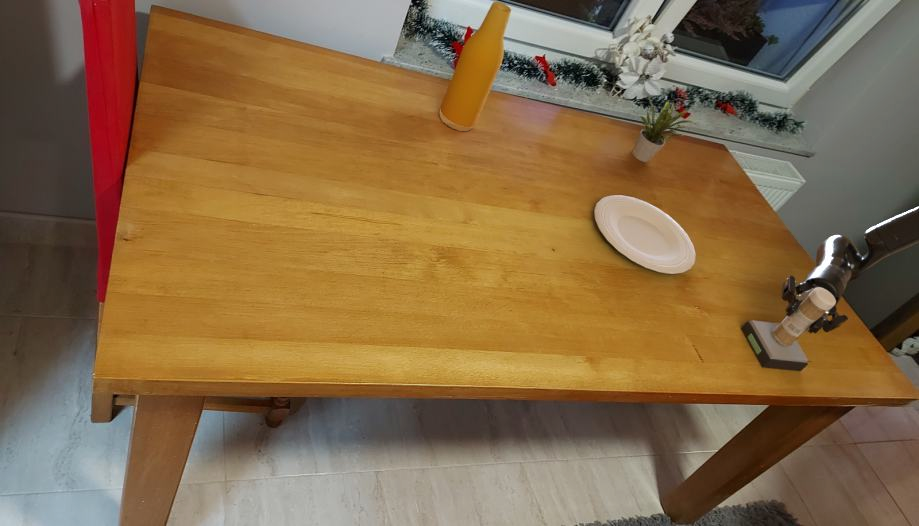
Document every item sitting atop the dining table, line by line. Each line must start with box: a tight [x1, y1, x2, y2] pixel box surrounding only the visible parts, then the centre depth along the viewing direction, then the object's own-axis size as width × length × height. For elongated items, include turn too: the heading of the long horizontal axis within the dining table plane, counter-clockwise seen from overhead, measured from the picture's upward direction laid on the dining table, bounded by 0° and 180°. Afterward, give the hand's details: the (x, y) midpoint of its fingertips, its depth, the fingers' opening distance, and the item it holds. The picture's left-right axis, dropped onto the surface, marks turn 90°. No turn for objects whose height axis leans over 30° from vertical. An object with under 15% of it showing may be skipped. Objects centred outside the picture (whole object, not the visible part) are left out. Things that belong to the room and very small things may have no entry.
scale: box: [740, 319, 809, 372], centre depth 139 cm, size 10×10×3 cm
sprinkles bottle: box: [772, 287, 836, 346], centre depth 133 cm, size 5×5×13 cm
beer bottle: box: [439, 1, 512, 127], centre depth 152 cm, size 9×9×29 cm
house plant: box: [631, 96, 697, 163], centre depth 175 cm, size 14×14×16 cm
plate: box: [593, 194, 697, 275], centre depth 152 cm, size 25×25×2 cm
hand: (801, 321), depth 131 cm, fingers closed on sprinkles bottle, 4 cm apart
